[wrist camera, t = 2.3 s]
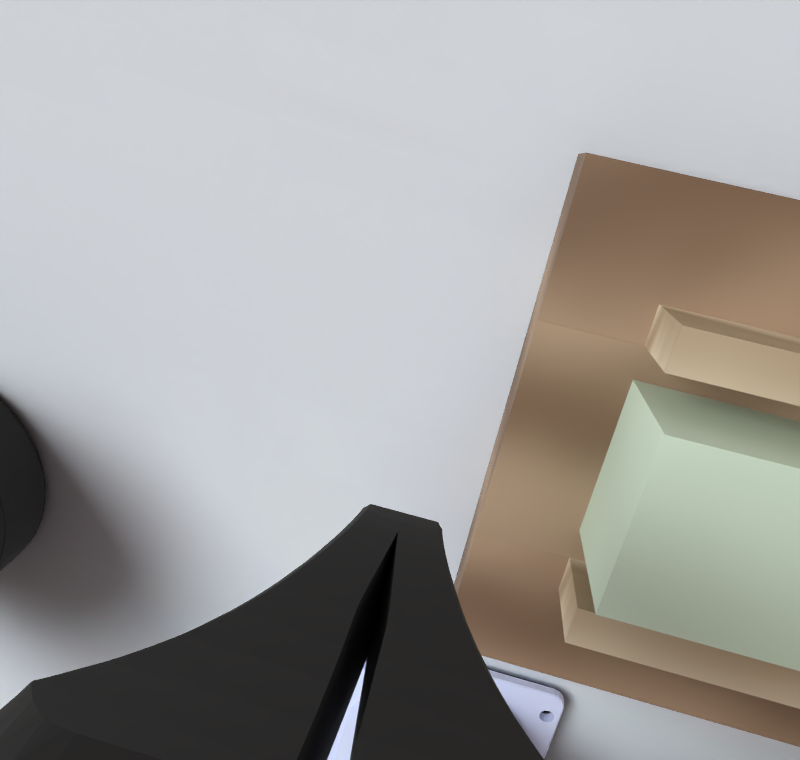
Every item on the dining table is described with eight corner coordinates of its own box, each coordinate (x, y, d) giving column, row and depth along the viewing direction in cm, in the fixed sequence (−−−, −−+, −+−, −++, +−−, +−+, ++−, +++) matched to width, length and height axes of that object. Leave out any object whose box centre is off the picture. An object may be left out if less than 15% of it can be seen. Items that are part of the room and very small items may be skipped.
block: (744, 574, 20) (799, 671, 16) (579, 530, 20) (595, 614, 16) (814, 424, 18) (894, 493, 14) (632, 379, 18) (664, 434, 15)
